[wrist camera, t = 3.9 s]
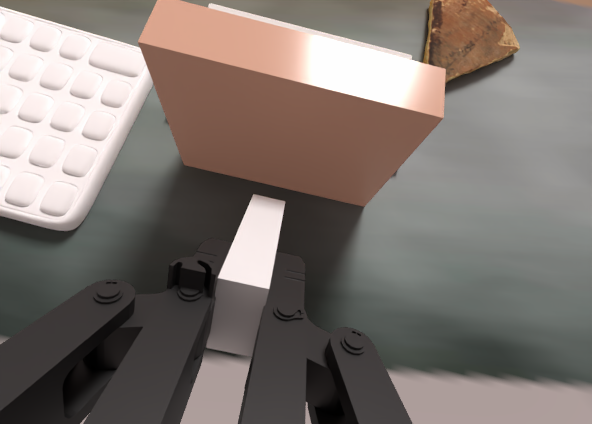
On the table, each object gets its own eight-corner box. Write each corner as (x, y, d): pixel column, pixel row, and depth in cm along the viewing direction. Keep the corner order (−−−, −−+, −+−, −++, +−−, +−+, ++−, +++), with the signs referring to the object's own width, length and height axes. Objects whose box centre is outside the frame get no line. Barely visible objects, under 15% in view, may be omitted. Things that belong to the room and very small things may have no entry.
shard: (416, 103, 27) (427, 87, 25) (364, 32, 29) (371, 13, 27) (513, 61, 30) (529, 44, 28) (460, -1, 32) (472, -20, 30)
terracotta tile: (368, 171, 24) (445, 65, 15) (364, 207, 23) (443, 118, 14) (196, 130, 23) (161, -9, 14) (184, 165, 22) (137, 41, 13)
